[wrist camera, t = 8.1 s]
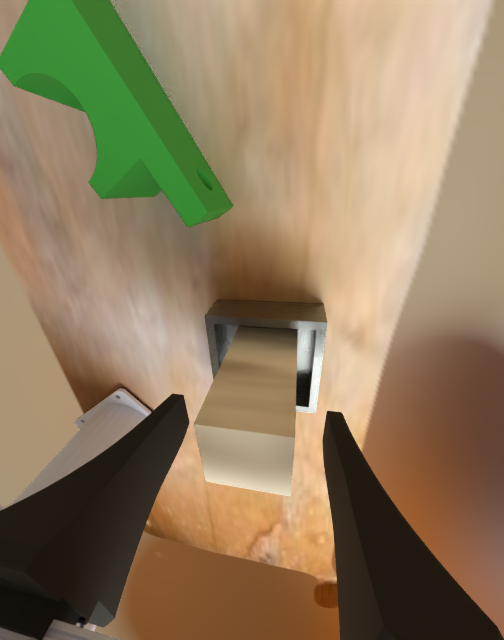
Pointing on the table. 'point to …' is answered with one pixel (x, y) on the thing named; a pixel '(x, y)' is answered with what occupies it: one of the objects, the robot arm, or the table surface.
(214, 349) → the dark gray open tray
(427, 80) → the table surface
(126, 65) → the pipe clamp
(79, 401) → the table surface
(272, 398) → the rail post
